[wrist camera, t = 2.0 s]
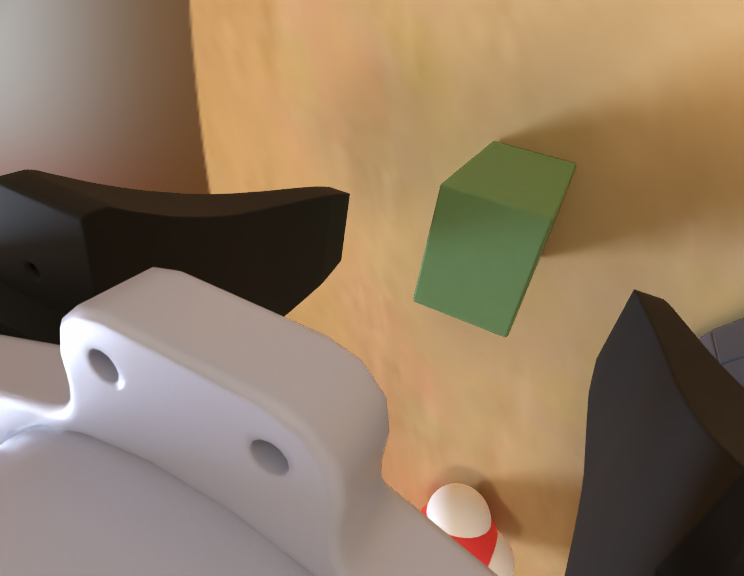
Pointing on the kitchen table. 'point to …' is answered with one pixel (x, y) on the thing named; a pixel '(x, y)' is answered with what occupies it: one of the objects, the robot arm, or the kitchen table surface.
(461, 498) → the molecule
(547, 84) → the kitchen table surface
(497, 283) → the green block
